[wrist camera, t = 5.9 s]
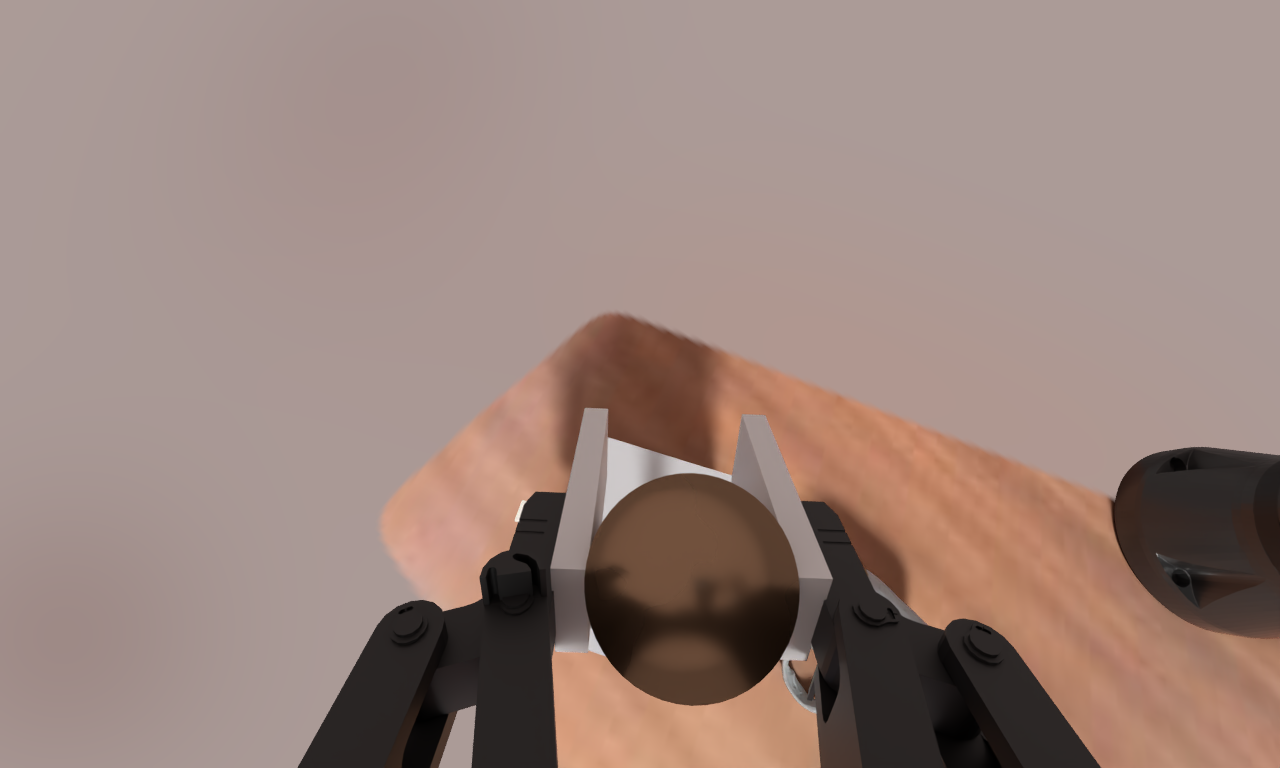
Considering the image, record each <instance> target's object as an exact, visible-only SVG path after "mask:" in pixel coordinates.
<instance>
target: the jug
mask: <svg viewBox="0 0 1280 768" xmlns="http://www.w3.org/2000/svg"><path fill="white" fill-rule="evenodd" d="M679 473H697V474H706V475H710V476H714V477H719V478H721V479H724V480H727V481H729V482H732V481H731V479H732V475H728V474H725V473H722V472H719V471H715V470H712V469H709V468H706V467H702V466H699V465H696V464H693V463H690V462H686V461H683V460H680V459H677V458H673V457H670V456H667V455H664V454H660V453H657V452H654V451H651V450H648V449H644V448H641V447H638V446H635V445H631V444H628V443H625V442H622V441H618V440H615V439H612V438H609V437H608V456H607V482H606V491H605V500H604V510H603V519H602V522H603V520H604V519H605V517H606V516H607V515H608V513H609V512H610V511H611V509H612V508H613V507H614V506H615V505H616V504H617V503H618V502H619V501H620V500H621V499H622V498H624V497H625V496H626V495H627V494H628V493H630V492H631V491H633V490H634V489H636V488H637V487H639V486H641V485H642V484H645V483H647V482H649V481H651V480H653V479H657V478H660V477H663V476H666V475H673V474H679ZM526 502H527V501H524V500H522V502H521V505H520V507H519V510H518V513H517V516H516V518H515V521H516V522H519V518H520V515H521V512H522V509H523V506H524V504H525V503H526ZM588 650H589V651H592V652H595V653H598V654H600V655H603V656H605V654H604V653H603V651H602V649H601V648H600V646H599V644H598V642H597V640H596V638H595V636H594V633H593V630H592V628H590V637H589V646H588Z"/></svg>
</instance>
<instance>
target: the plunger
mask: <svg viewBox="0 0 1280 768" xmlns="http://www.w3.org/2000/svg"><path fill="white" fill-rule="evenodd" d="M584 594H585V603H586V610H587V614H588V618H589V622H590V625H591V628H592V630H593V633H594V636H595V638H596V640H597V642H598V644H599V646H600V648H601V649H602V651H603V653H604V654H605V656H606V657H607V658H608V660H609V661H610V663H611V664H612V665H613V666H614V667H615V669H616V670H617V671H618V672H619V673H620V674H621V675H622V676H623V677H624V678H625V679H627V680H628V681H629V682H630V683H632V684H633V685H634V686H635V687H637V688H639V689H640V690H642V691H644V692H645V693H647V694H649V695H651V696H654V697H656V698H658V699H661V700H664V701H667V702H671V703H675V704H682V705H691V706H694V705H709V704H714V703H719V702H723V701H726V700H729V699H732V698H734V697H737V696H738V695H740V694H742V693H744V692H746V691H748V690H749V689H751V688H752V687H753V686H755V685H756V684H757V683H759V682H760V681H761V680H762V679H763V678H764V677H765V676H766V675H767V674H768V673H769V672H770V671H771V670H772V669H773V668H774V666H775V665H776V664H777V662H778V661H779V660H780V658H781V657H782V655H783V653H784V651H785V650H786V648H787V646H788V644H789V642H790V639H791V637H792V634H793V632H794V628H795V624H796V620H797V616H798V609H799V601H800V585H799V576H798V569H797V565H796V561H795V557H794V554H793V551H792V548H791V546H790V543H789V541H788V539H787V537H786V535H785V533H784V531H783V529H782V528H781V526H780V525H779V523H778V522H777V520H776V519H775V517H774V516H773V515H772V514H771V512H770V511H769V510H768V509H767V508H766V507H765V506H764V505H763V504H762V503H761V502H760V501H759V500H758V499H757V498H756V497H754V496H753V495H752V494H750V493H749V492H747V491H746V490H744V489H743V488H741V487H739V486H737V485H735V484H734V483H732V482H729V481H727V480H724V479H721V478H719V477H714V476H710V475H706V474H697V473H679V474H673V475H666V476H663V477H660V478H657V479H653V480H651V481H649V482H647V483H645V484H642V485H641V486H639V487H637V488H636V489H634V490H633V491H631V492H630V493H628V494H627V495H626V496H625V497H624V498H622V499H621V500H620V501H619V502H618V503H617V504H616V505H615V506H614V507H613V508H612V509H611V511H610V512H609V513H608V515H607V516H606V517H605V519H604V520H603V522H602V523H601V525H600V527H599V529H598V531H597V532H596V534H595V537H594V539H593V542H592V544H591V547H590V550H589V554H588V558H587V562H586V569H585V577H584Z"/></svg>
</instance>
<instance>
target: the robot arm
mask: <svg viewBox="0 0 1280 768" xmlns="http://www.w3.org/2000/svg"><path fill="white" fill-rule="evenodd" d="M607 456H608V409H602V408H585V410H584V414H583V419H582V424H581V428H580V433H579V437H578V442H577V447H576V451H575V456H574V461H573V465H572V470H571V475H570V479H569V484H568V489H567V493H554V492H535V493H534V494H533V495H532V496H531V497H530V498H529V499H528V501H527V502H526V503H525V504H524V506H523V509H522V512H521V515H520V518H519V522H518V525H517V528H516V532H515V534H514V537H513V540H512V543H511V546H510V549H509V551H505V552H501V553H500V554H498V555H496V556H495V557H493V558H491V559H490V560H489V561H488V563H487V564H486V565H485V566H484V567H483V569H482V572H481V575H480V584H481V590H482V597H483V598H482V599H481V600H479V601H477V602H475V603H473V604H470V605H467V606H464V607H460V608H456V609H452V610H448V611H443V612H442V609H441V608H440V607H439V606H437V605H436V604H435V603H433V602H429V601H425V600H419V601H410V602H408V603H405V604H403V605H400V606H398V607H396V608H395V609H393V610H392V611H391V612H389V613H388V614H386V615H385V616H384V618H383V619H382V620H381V621H380V623H379V624H378V625H377V627H376V628H375V630H374V632H373V634H372V636H371V637H370V639H369V641H368V643H367V644H366V646H365V648H364V650H363V652H362V653H361V655H360V657H359V659H358V661H357V662H356V664H355V666H354V668H353V670H352V671H351V673H350V675H349V677H348V679H347V680H346V682H345V684H344V686H343V687H342V689H341V691H340V693H339V695H338V696H337V698H336V700H335V702H334V703H333V705H332V707H331V709H330V711H329V712H328V714H327V716H326V718H325V720H324V722H323V723H322V725H321V727H320V729H319V730H318V732H317V734H316V736H315V737H314V739H313V741H312V743H311V745H310V746H309V748H308V750H307V752H306V754H305V756H304V757H303V759H302V761H301V763H300V764H299V766H298V768H438V767H439V764H440V761H441V758H442V755H443V752H444V749H445V746H446V743H447V740H448V737H449V735H450V732H451V729H452V726H453V723H454V720H455V717H456V714H457V711H458V710H461V709H464V708H468V707H471V706H474V705H476V717H475V729H474V743H473V757H472V768H558V760H557V743H556V725H555V708H554V691H553V674H552V655H553V649H554V643H555V652H582V653H588V646H589V637H590V628H591V625H590V622H589V618H588V614H587V610H586V603H585V594H584V577H585V569H586V562H587V558H588V554H589V550H590V547H591V544H592V542H593V539H594V537H595V534H596V532H597V531H598V529H599V527H600V525H601V523H602V519H603V510H604V500H605V491H606V482H607ZM731 481H732V483H734V484H735V485H737V486H739V487H741V488H743V489H744V490H746V491H747V492H749V493H750V494H752V495H753V496H754V497H756V498H757V499H758V500H759V501H760V502H761V503H762V504H763V505H764V506H765V507H766V508H767V509H768V510H769V511H770V512H771V514H772V515H773V516H774V517H775V519H776V520H777V522H778V523H779V525H780V526H781V528H782V529H783V531H784V533H785V535H786V537H787V539H788V541H789V543H790V546H791V548H792V551H793V554H794V557H795V561H796V565H797V569H798V576H799V585H800V601H799V609H798V616H797V620H796V624H795V628H794V632H793V634H792V637H791V639H790V642H789V644H788V646H787V648H786V650H785V651H784V653H783V655H782V657H781V658H780V660H805V661H807V658H808V655H809V652H810V649H811V646H812V647H813V650H814V653H815V657H816V660H817V663H818V664H817V666H816V669H815V672H814V675H813V678H812V681H811V684H810V687H809V690H808V697H807V700H810V701H812V700H813V697H814V694H815V700H816V713H817V725H818V738H819V750H820V763H821V768H1101V767H1100V766H1099V764H1098V763H1097V762H1096V760H1095V759H1094V757H1093V756H1092V755H1091V753H1090V752H1089V750H1088V749H1087V748H1086V746H1085V745H1084V744H1083V742H1082V741H1081V739H1080V738H1079V737H1078V735H1077V734H1076V733H1075V731H1074V730H1073V728H1072V727H1071V726H1070V724H1069V723H1068V722H1067V720H1066V719H1065V717H1064V716H1063V715H1062V713H1061V712H1060V711H1059V709H1058V708H1057V706H1056V705H1055V704H1054V702H1053V701H1052V700H1051V698H1050V697H1049V695H1048V694H1047V693H1046V691H1045V690H1044V688H1043V687H1042V686H1041V684H1040V683H1039V682H1038V680H1037V679H1036V677H1035V676H1034V675H1033V673H1032V672H1031V671H1030V669H1029V668H1028V666H1027V665H1026V664H1025V662H1024V661H1023V660H1022V658H1021V657H1020V655H1019V654H1018V653H1017V651H1016V650H1015V649H1014V647H1013V646H1012V645H1011V644H1010V643H1009V642H1008V641H1007V640H1006V639H1005V638H1004V637H1003V636H1002V635H1001V634H999V633H998V632H996V631H995V630H993V629H992V628H991V627H989V626H986V625H984V624H982V623H980V622H977V621H974V620H968V619H958V620H953V621H952V622H951V623H950V624H949V625H948V626H947V627H946V629H945V631H944V630H941V629H938V628H935V627H931V626H928V625H925V624H922V623H919V622H915V621H913V620H910V619H908V618H905V617H903V616H902V615H901V614H900V612H899V610H898V609H897V608H896V607H895V606H894V605H893V604H892V602H891V601H890V600H888V599H887V598H885V597H883V596H882V595H880V594H879V593H877V592H876V591H875V590H874V588H873V586H872V584H871V582H870V580H869V578H868V576H867V574H866V572H865V570H864V568H863V566H862V564H861V562H860V560H859V557H858V555H857V553H856V551H855V549H854V547H853V545H851V541H850V539H849V537H848V535H847V533H845V529H844V527H843V525H842V523H841V521H840V519H839V517H838V515H837V514H836V513H835V512H834V511H833V510H832V509H831V508H830V507H829V506H827V505H826V504H825V503H824V502H812V501H800V498H799V496H798V493H797V491H796V489H795V486H794V484H793V481H792V479H791V477H790V474H789V472H788V469H787V467H786V464H785V462H784V460H783V457H782V455H781V452H780V450H779V448H778V445H777V443H776V440H775V438H774V435H773V433H772V431H771V428H770V426H769V423H768V421H767V418H766V416H765V415H748V414H742V418H741V424H740V430H739V436H738V442H737V449H736V455H735V461H734V467H733V473H732V479H731ZM1115 525H1116V531H1117V535H1118V539H1119V542H1120V545H1121V548H1122V550H1123V553H1124V555H1125V557H1126V559H1127V561H1128V563H1129V565H1130V567H1131V568H1132V570H1133V572H1134V573H1135V575H1136V576H1137V578H1138V579H1139V580H1140V582H1141V583H1142V584H1143V585H1144V587H1145V588H1146V589H1147V590H1148V591H1149V592H1150V593H1151V594H1152V595H1153V596H1154V597H1155V598H1156V599H1157V600H1158V601H1159V602H1160V603H1161V604H1162V605H1163V606H1165V607H1166V608H1167V609H1168V610H1170V611H1171V612H1172V613H1174V614H1176V615H1177V616H1179V617H1180V618H1182V619H1184V620H1185V621H1187V622H1189V623H1191V624H1193V625H1196V626H1198V627H1200V628H1203V629H1206V630H1209V631H1213V632H1218V633H1223V634H1229V635H1235V636H1242V637H1248V638H1260V639H1273V638H1280V455H1271V454H1262V453H1253V452H1245V451H1236V450H1227V449H1217V448H1209V447H1191V448H1183V449H1177V450H1170V451H1164V452H1159V453H1155V454H1152V455H1149V456H1147V457H1145V458H1143V459H1141V460H1140V461H1138V462H1137V463H1136V464H1135V465H1133V466H1132V467H1131V468H1130V470H1129V471H1128V472H1127V473H1126V474H1125V476H1124V477H1123V479H1122V481H1121V483H1120V486H1119V488H1118V492H1117V495H1116V500H1115Z"/></svg>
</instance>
